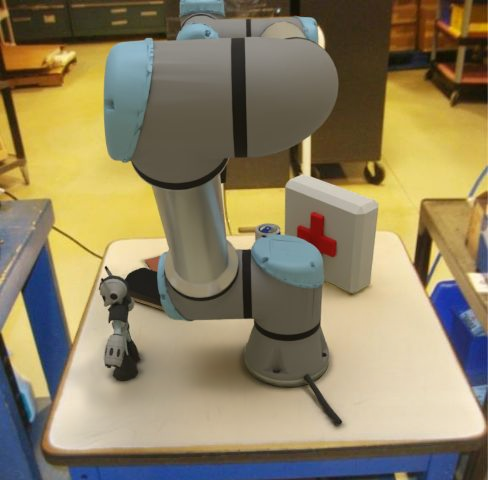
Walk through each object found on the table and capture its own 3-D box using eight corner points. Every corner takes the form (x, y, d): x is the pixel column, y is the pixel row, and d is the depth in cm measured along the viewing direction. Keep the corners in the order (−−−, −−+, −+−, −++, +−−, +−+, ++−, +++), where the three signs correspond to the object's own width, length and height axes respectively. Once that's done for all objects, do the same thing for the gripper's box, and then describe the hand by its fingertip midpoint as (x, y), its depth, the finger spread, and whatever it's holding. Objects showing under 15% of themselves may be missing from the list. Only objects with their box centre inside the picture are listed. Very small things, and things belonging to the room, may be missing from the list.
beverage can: (273, 300, 128) (273, 235, 119) (252, 294, 130) (250, 230, 121) (284, 288, 132) (285, 225, 123) (263, 283, 134) (262, 220, 125)
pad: (235, 254, 144) (235, 253, 144) (155, 275, 138) (155, 274, 137) (222, 241, 150) (222, 240, 150) (144, 260, 143) (144, 259, 143)
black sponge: (202, 298, 129) (201, 283, 127) (178, 318, 124) (177, 303, 121) (141, 279, 136) (139, 265, 134) (116, 297, 131) (113, 283, 128)
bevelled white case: (277, 264, 140) (277, 181, 128) (301, 252, 144) (304, 170, 133) (349, 300, 127) (357, 212, 115) (373, 286, 131) (383, 199, 120)
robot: (134, 402, 104) (117, 304, 92) (105, 404, 104) (84, 305, 92) (146, 334, 120) (132, 242, 108) (121, 334, 120) (105, 243, 108)
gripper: (241, 97, 107) (245, 220, 121) (211, 80, 117) (218, 196, 130) (202, 104, 104) (210, 229, 118) (174, 86, 114) (185, 204, 128)
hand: (214, 212), depth 124 cm, fingers closed
